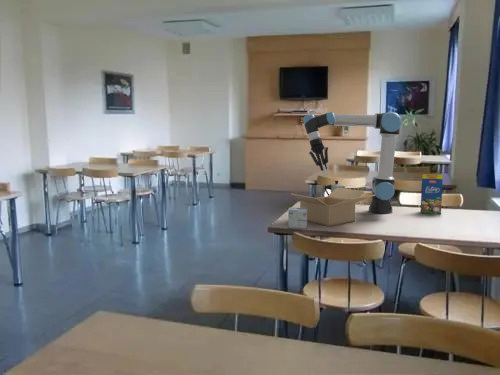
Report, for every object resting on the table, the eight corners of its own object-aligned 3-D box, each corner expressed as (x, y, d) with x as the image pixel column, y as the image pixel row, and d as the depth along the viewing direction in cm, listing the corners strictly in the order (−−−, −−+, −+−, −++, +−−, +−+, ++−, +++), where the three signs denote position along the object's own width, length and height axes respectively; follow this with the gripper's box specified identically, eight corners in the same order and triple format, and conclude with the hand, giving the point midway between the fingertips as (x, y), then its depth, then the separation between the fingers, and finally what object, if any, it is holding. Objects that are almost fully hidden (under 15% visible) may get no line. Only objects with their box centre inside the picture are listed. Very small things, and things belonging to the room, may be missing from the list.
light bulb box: (306, 225, 282) (307, 207, 281) (307, 228, 275) (307, 209, 274) (288, 225, 283) (288, 207, 282) (288, 228, 277) (288, 209, 275)
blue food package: (441, 214, 313) (443, 175, 309) (421, 213, 316) (423, 174, 312) (439, 212, 319) (441, 174, 315) (420, 211, 322) (422, 173, 318)
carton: (288, 221, 294) (288, 192, 292) (334, 213, 317) (335, 186, 315) (317, 228, 274) (318, 198, 272) (364, 219, 298) (365, 191, 295)
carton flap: (350, 198, 265) (350, 199, 265) (375, 194, 278) (375, 195, 278) (330, 205, 278) (330, 206, 278) (355, 201, 290) (355, 202, 290)
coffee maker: (344, 205, 346) (345, 179, 344) (345, 207, 338) (346, 181, 335) (323, 204, 348) (323, 179, 345) (324, 207, 339) (324, 181, 336)
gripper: (322, 137, 313) (332, 173, 312) (303, 142, 310) (314, 178, 309) (326, 135, 305) (337, 171, 304) (307, 140, 302) (318, 177, 301)
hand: (325, 175), depth 307 cm, fingers closed
